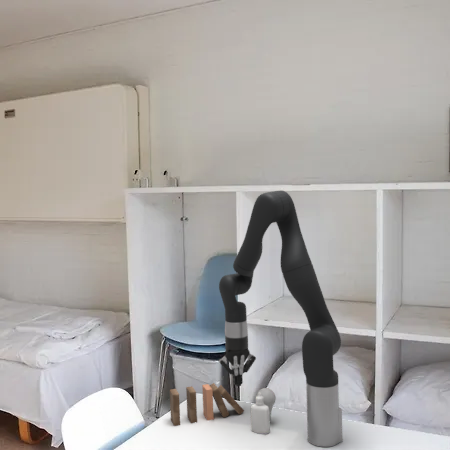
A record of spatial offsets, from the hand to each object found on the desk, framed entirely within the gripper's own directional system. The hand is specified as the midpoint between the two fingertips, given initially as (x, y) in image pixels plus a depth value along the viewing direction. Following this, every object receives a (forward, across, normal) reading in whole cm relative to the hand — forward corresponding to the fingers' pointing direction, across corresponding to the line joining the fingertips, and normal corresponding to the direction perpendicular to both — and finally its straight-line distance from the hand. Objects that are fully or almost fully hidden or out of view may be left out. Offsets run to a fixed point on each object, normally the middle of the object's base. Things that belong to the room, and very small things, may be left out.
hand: (238, 385), depth 177 cm
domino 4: (+9, -5, 0) cm, 10 cm away
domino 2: (+9, -16, 0) cm, 18 cm away
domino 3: (+9, -11, 0) cm, 14 cm away
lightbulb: (+9, +6, -11) cm, 15 cm away
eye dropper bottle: (+9, +2, -16) cm, 19 cm away
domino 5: (+8, 0, 0) cm, 8 cm away
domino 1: (+9, -22, 0) cm, 23 cm away
